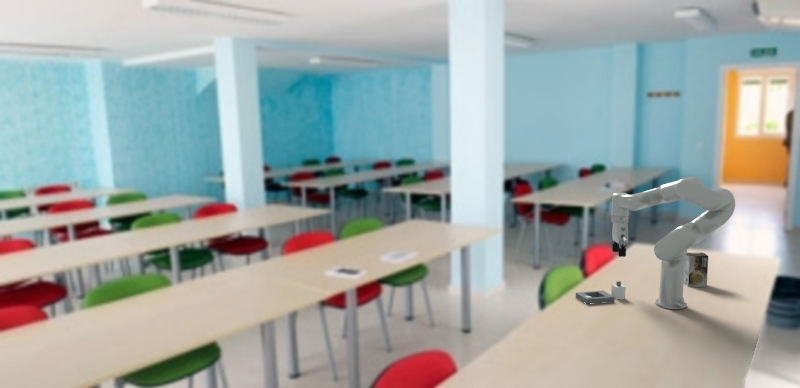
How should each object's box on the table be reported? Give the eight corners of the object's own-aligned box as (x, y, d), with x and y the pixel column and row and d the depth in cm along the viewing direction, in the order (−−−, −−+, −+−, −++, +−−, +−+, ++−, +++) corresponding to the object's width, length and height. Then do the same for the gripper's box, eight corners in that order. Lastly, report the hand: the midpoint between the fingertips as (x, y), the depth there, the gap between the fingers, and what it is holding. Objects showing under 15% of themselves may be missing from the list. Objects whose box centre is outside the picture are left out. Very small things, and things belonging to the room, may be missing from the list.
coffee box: (701, 283, 288) (703, 252, 285) (707, 287, 281) (709, 255, 279) (682, 283, 289) (684, 252, 286) (687, 286, 282) (689, 255, 280)
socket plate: (614, 302, 261) (614, 295, 261) (586, 304, 259) (586, 298, 258) (602, 295, 271) (602, 289, 271) (575, 297, 268) (575, 291, 268)
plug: (624, 299, 265) (625, 282, 264) (616, 299, 265) (617, 283, 263) (619, 296, 270) (620, 279, 269) (611, 296, 269) (611, 280, 268)
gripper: (634, 222, 261) (633, 258, 263) (622, 215, 278) (621, 249, 280) (617, 222, 261) (616, 258, 264) (606, 215, 278) (605, 249, 281)
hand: (618, 254), depth 272 cm, fingers open, 9 cm apart
